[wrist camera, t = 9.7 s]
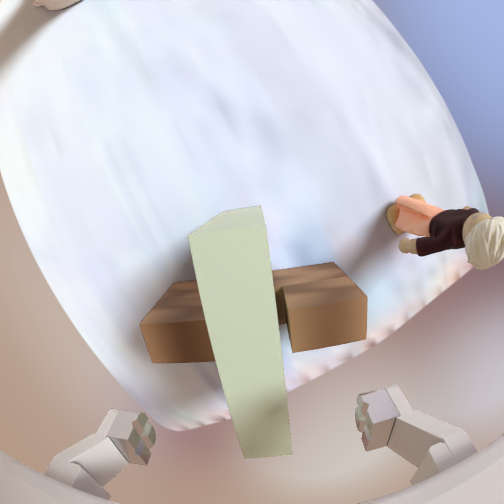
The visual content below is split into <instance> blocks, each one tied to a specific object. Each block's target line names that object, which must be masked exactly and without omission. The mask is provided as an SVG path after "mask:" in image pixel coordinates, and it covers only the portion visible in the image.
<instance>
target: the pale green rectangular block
mask: <svg viewBox="0 0 504 504" xmlns="http://www.w3.org/2000/svg"><path fill="white" fill-rule="evenodd" d="M188 238H189V244H190V249H191V254H192V259H193V264H194V269H195V274H196V279H197V284H198V289H199V293H200V298H201V302H202V307H203V311H204V316H205V320H206V324H207V328H208V333H209V337H210V341H211V345H212V349H213V353H214V357H215V361H216V364H217V368H218V372H219V376H220V379H221V383H222V387H223V390H224V394H225V397H226V401H227V404H228V408H229V411H230V414H231V418H232V421H233V424H234V427H235V430H236V434H237V437H238V440H239V443H240V446H241V449H242V452H243V455H244V458H261V457H273V456H282V455H291V454H292V443H291V433H290V423H289V414H288V404H287V394H286V385H285V376H284V367H283V359H282V350H281V341H280V333H279V325H278V316H277V308H276V300H275V292H274V285H273V277H272V269H271V261H270V254H269V246H268V239H267V232H266V224H265V220H264V216H263V212H262V208H261V205H260V206H253V207H246V208H239V209H233V210H226V211H223V212H221V213H220V214H218V215H217V216H216V217H214V218H213V219H211V220H210V221H208V222H207V223H205V224H204V225H202V226H201V227H199V228H198V229H197V230H195V231H194V232H192V233H191V234H189V235H188Z"/></svg>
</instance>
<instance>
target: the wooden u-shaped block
mask: <svg viewBox="0 0 504 504" xmlns="http://www.w3.org/2000/svg"><path fill="white" fill-rule="evenodd" d="M272 277H273V285H274V292H275V300H276V308H277V316H278V325H279V324H286V323H287V328H288V333H289V338H290V343H291V348H292V353H295V352H301V351H308V350H314V349H320V348H325V347H331V346H336V345H341V344H346V343H351V342H356V341H360V340H365V339H366V332H367V296H366V295H365V294H364V293H363V292H362V290H361V289H360V288H359V287H358V286H357V285H356V284H355V283H354V282H353V281H352V280H351V279H350V278H349V277H348V276H347V275H346V274H345V273H344V272H343V271H342V270H341V269H340V268H339V267H338V266H337V265H336V264H335V263H334V262H329V263H323V264H316V265H309V266H302V267H295V268H288V269H281V270H273V271H272ZM139 325H140V328H141V331H142V334H143V337H144V340H145V343H146V346H147V349H148V352H149V354H150V357H151V360H152V363H189V362H209V361H215V357H214V353H213V349H212V345H211V341H210V337H209V333H208V328H207V324H206V320H205V316H204V311H203V307H202V302H201V298H200V293H199V289H198V284H197V280H196V281H187V282H179V283H173V284H172V285H171V287H170V288H169V289H168V290H167V291H166V293H165V294H164V295H163V296H162V297H161V299H160V300H159V301H158V302H157V303H156V305H155V306H154V307H153V308H152V309H151V311H150V312H149V313H148V314H147V316H146V317H145V318H144V319H143V320H142V322H141V323H140V324H139Z"/></svg>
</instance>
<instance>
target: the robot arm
mask: <svg viewBox="0 0 504 504" xmlns="http://www.w3.org/2000/svg"><path fill="white" fill-rule="evenodd" d="M78 1H80V0H33V2H32V4H33V5H34V6H36V7H39V6H45V7H46V8H47V9H49V10H59V9H63V8H65V7H68V6H70V5H72V4H74V3H76V2H78ZM357 403H358V407H357V408H356V412H355V419H356V424H357V428H358V431H360V432H362V433H363V434H362V442H363V445H364V447H365V450H366V451H370V450H373V449H377V448H381V447H384V446H387V447H388V448H390V449H391V450H393V451H394V452H395V453H397V454H398V455H400V456H402V457H403V458H404V459H406V460H407V461H409V462H410V463H412V464H413V465H415V466H416V467H418V470H417V471H416V473H415V474H414V476H413V477H412V479H411V484H412V486H410V487H407V488H405V489H402V490H399V491H397V492H394V493H391V494H388V495H385V496H382V497H379V498H376V499H373V500H370V501H366V502H363V503H359V504H504V434H503V435H501V436H500V437H499V438H497V439H496V440H494V441H493V442H492V443H490V444H489V445H487V446H486V447H484V448H483V449H481V450H480V451H477V450H476V448H475V446H474V445H473V443H472V442H471V440H470V439H469V437H468V436H467V434H466V433H465V431H464V430H463V429H461V428H458V427H455V426H453V425H451V424H448V423H446V422H443V421H441V420H439V419H436V418H434V417H431V416H429V415H427V414H425V413H422V412H420V411H418V410H415V411H413V410H412V408H411V407H410V405H409V403H408V402H407V400H406V398H405V397H404V395H403V393H402V392H401V390H400V389H399V387H398V385H396V384H394V385H390V386H387V387H384V388H380V389H377V390H373V391H370V392H366V393H362V394H359V395H358V397H357ZM147 420H148V418H147V416H146V415H145V413H142V412H133V411H125V410H118V409H111V410H109V411H108V413H107V415H106V417H105V418H104V420H103V422H102V424H101V426H100V427H99V429H98V431H97V433H96V434H92V435H90V436H88V437H87V438H85V439H83V440H82V441H80V442H78V443H76V444H75V445H73V446H71V447H70V448H68V449H66V450H64V451H63V452H61V453H59V454H57V455H55V457H54V459H53V460H52V462H51V464H50V465H49V467H48V469H47V471H46V472H45V474H42V473H40V472H38V471H36V470H34V469H32V468H30V467H28V466H27V465H25V464H23V463H21V462H19V461H18V460H16V459H14V458H13V457H11V456H9V455H8V454H6V453H5V452H3V451H2V450H0V504H120V503H117V502H113V501H110V497H111V496H110V494H109V493H108V492H107V491H106V490H104V489H103V488H102V487H103V486H105V485H106V484H107V483H108V482H109V481H110V480H111V479H112V478H114V477H115V476H116V475H117V474H118V473H120V472H121V471H122V470H123V469H124V468H125V467H126V466H127V465H128V464H129V463H133V464H140V465H147V464H148V461H149V458H150V455H151V453H150V450H149V449H150V448H151V447H153V445H154V443H155V431H154V428H153V426H152V425H150V424H149V423H148V422H147Z"/></svg>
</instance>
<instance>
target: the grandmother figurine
mask: <svg viewBox="0 0 504 504" xmlns="http://www.w3.org/2000/svg"><path fill="white" fill-rule="evenodd" d="M386 217H387V220H388V222H389V224H390V225H391V227H392V229H393V231H394V232H395V233H396V234H402V233H404V232H405V231H406V232H408V233H410V234H414V235H418V236H426V237H422V238H417V239H411V240H410V239H407V238H405V239H402V240H401V241H400V242H399V249H400V251H401V252H403V253H409V252H410V253H412V254H418V256H426V255H429V254H433V253H437V252H441V251H444V250H449V249H460V248H464V247H465V250H466V254H467V256H468V262H469V263H471V264H473V266H474V267H475V268H477V269H479V270H484V269H486V268H490V267H491V266H493V265H496V264H497V263H499V262H500V261H501V259H503V258H504V218H503V217H491V216H489V215H488V214H486V213H482V212H479V211H478V210H477V209H475V208H471V207H469V206H466V207H464V208H463V209H457V210H453V209H450V210H442V209H441V208H438V207H435V206H433V205H430V204H427V203H426V202H425V199H424V198H423V196H421V195H419V194H414V195H412V196H411V197H407V196H400V197H399V198H397V199H396V204H394V205H392V206H390V207H389V208H388V210H387V213H386Z"/></svg>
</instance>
